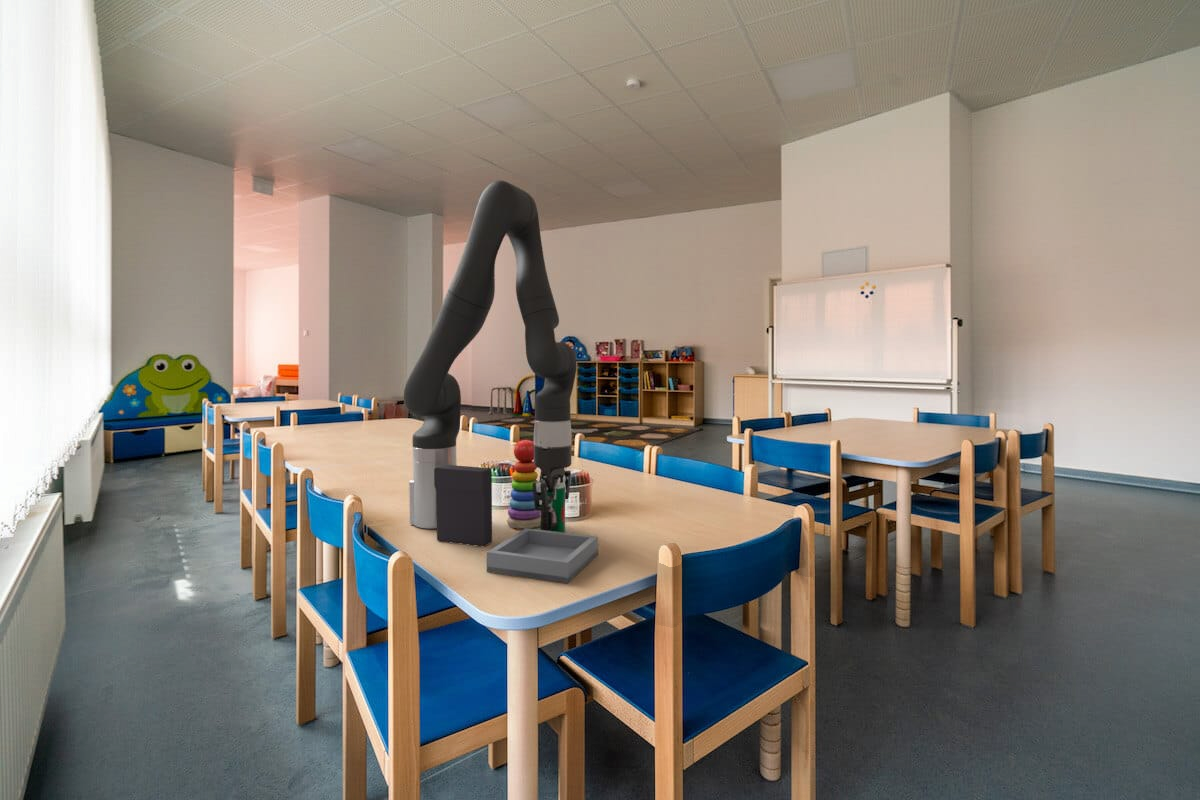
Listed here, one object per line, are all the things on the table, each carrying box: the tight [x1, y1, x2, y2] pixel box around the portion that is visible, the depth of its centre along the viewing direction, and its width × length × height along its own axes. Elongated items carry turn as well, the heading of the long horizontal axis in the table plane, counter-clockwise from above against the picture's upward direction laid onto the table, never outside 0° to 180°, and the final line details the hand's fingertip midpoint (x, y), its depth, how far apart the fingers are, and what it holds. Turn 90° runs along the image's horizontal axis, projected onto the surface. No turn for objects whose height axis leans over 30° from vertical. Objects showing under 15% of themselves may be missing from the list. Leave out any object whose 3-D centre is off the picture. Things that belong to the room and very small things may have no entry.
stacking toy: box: [506, 439, 540, 530], centre depth 129 cm, size 8×8×19 cm
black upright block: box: [434, 464, 493, 547], centre depth 117 cm, size 11×4×15 cm, turn 71°
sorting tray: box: [486, 528, 599, 584], centre depth 105 cm, size 15×15×4 cm
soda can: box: [539, 481, 566, 533], centre depth 118 cm, size 5×5×12 cm
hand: (552, 526), depth 118 cm, fingers closed on soda can, 5 cm apart
